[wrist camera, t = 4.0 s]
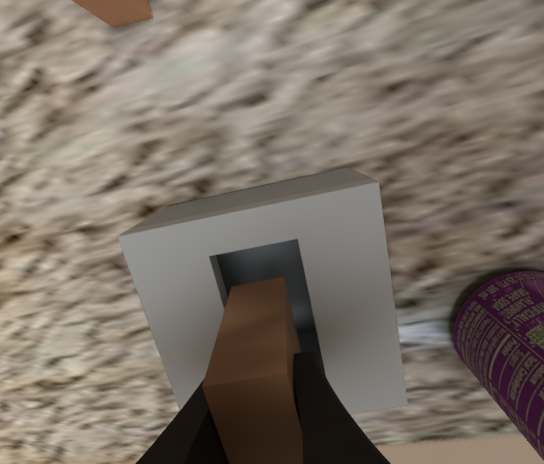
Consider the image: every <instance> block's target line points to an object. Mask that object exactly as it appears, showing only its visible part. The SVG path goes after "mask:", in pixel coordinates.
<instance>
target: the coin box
mask: <svg viewBox="0 0 544 464" xmlns="http://www.w3.org/2000/svg"><path fill="white" fill-rule="evenodd" d="M118 239H119V242H120V245H121V248H122V250H123V253H124V256H125V259H126V262H127V264H128V267H129V270H130V273H131V276H132V278H133V281H134V284H135V287H136V290H137V292H138V295H139V298H140V301H141V303H142V306H143V309H144V312H145V315H146V317H147V320H148V323H149V326H150V329H151V331H152V334H153V337H154V340H155V343H156V345H157V348H158V351H159V354H160V357H161V359H162V362H163V365H164V368H165V370H166V373H167V376H168V379H169V382H170V384H171V387H172V390H173V393H174V396H175V398H176V401H177V404H178V407H179V410H181V409H182V408H183V406H184V405H185V404H186V402H187V401H188V400H189V398H190V397H191V396H192V394H193V393H194V392H195V390H196V389H197V388H198V386H199V385H200V383H201V382H202V381H203V379H204V378H205V375H206V372H207V368H208V365H209V362H210V358H211V355H212V351H213V348H214V345H215V341H216V338H217V334H218V331H219V328H220V324H221V321H222V317H223V314H224V311H225V307H226V304H227V300H228V297H229V293H230V290H231V287H233V286H238V285H244V284H249V283H254V282H259V281H264V280H269V279H274V278H280V277H284V280H285V284H286V288H287V293H288V297H289V301H290V306H291V310H292V314H293V318H294V323H295V327H296V331H297V336H298V340H299V344H300V349H301V352H307V351H314V352H315V353H317V358H318V361H319V363H320V366H321V368H322V370H323V372H324V374H325V376H326V378H327V380H328V382H329V383H330V385H331V387H332V388H333V390H334V392H335V393H336V395H337V396H338V398H339V400H340V401H341V403H342V404H343V405H344V407H345V408H346V410H347V411H348V413H349V414H355V413H362V412H368V411H375V410H381V409H388V408H395V407H401V406H408V403H407V396H406V388H405V380H404V373H403V365H402V357H401V350H400V342H399V334H398V327H397V319H396V311H395V304H394V296H393V288H392V281H391V273H390V265H389V258H388V250H387V242H386V235H385V227H384V219H383V212H382V204H381V196H380V189H379V182H378V181H376V180H373V179H371V178H369V177H367V176H365V175H363V174H360V173H358V172H356V171H354V170H352V169H350V168H348V167H345V168H341V169H336V170H332V171H327V172H322V173H318V174H313V175H308V176H304V177H299V178H294V179H290V180H285V181H280V182H276V183H271V184H266V185H262V186H257V187H252V188H248V189H243V190H238V191H234V192H229V193H224V194H220V195H215V196H210V197H206V198H201V199H196V200H192V201H187V202H182V203H178V204H173V205H169V206H167V207H165V208H164V209H162V210H160V211H159V212H157V213H155V214H154V215H152V216H150V217H149V218H147V219H146V220H144V221H142V222H141V223H139V224H137V225H136V226H134V227H132V228H131V229H129V230H127V231H126V232H124V233H123V234H121V235H119V236H118Z"/></svg>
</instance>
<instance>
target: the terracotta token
mask: <svg viewBox="0 0 544 464" xmlns="http://www.w3.org/2000/svg"><path fill="white" fill-rule="evenodd" d="M72 1H74V2H75V3H77V4H78V5H80V6H81V7H83V8H85V9H86V10H88V11H89V12H91V13H92V14H94V15H95V16H97V17H98V18H100V19H101V20H103V21H105V22H106V23H108V24H109V25H111V26H112V27H114V28H116V27H120V26H124V25H127V24H131V23H135V22H139V21H142V20H146V19H150V18H153V15H152V11H151V8H150V4H149V0H72Z"/></svg>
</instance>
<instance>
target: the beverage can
mask: <svg viewBox="0 0 544 464" xmlns="http://www.w3.org/2000/svg"><path fill="white" fill-rule="evenodd" d="M454 343H455V347H456V350H457V352H458V354H459V356H460V358H461V359H462V360H463V362H464V363H465V364H466V365H467V367H468V368H469V369H470V370H471V372H472V373H473V374H474V375H475V377H476V378H477V379H478V380H479V381H480V383H481V384H482V385H483V386H484V388H485V389H486V390H487V391H488V393H489V394H490V395H491V396H492V397H493V399H494V400H495V401H496V402H497V404H498V405H499V406H500V407H501V409H502V410H503V411H504V412H505V413H506V415H507V416H508V417H509V418H510V420H511V421H512V422H513V423H514V425H515V426H516V427H517V428H518V430H519V431H520V432H521V433H522V434H523V436H524V437H525V438H526V439H527V441H528V442H529V443H530V444H531V445H532V447H533V448H534V449H535V450H536V452H537V453H538V454H539V455H540V457H541V458H542V459H543V460H544V272H539V271H518V272H513V273H508V274H505V275H502V276H499V277H497V278H495V279H493V280H491V281H489V282H487V283H486V284H484V285H483V286H481V287H480V288H479V289H477V290H476V291H475V292H474V293H473V294H472V295H471V296H470V297H469V298H468V299H467V301H466V302H465V303H464V305H463V306H462V308H461V309H460V311H459V313H458V316H457V318H456V322H455V326H454Z"/></svg>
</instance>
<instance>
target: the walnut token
mask: <svg viewBox="0 0 544 464" xmlns="http://www.w3.org/2000/svg"><path fill="white" fill-rule="evenodd" d="M295 353H301V349H300V344H299V340H298V336H297V331H296V327H295V323H294V318H293V314H292V310H291V306H290V301H289V297H288V293H287V288H286V284H285V280H284V277H280V278H274V279H269V280H264V281H259V282H254V283H249V284H244V285H238V286H233V287H231V290H230V293H229V297H228V300H227V304H226V307H225V311H224V314H223V317H222V321H221V324H220V328H219V331H218V334H217V338H216V341H215V345H214V348H213V351H212V355H211V358H210V362H209V365H208V368H207V372H206V375H205V379H204V382H203V385H202V389H203V391H204V394H205V397H206V400H207V403H208V406H209V408H210V411H211V414H212V417H213V420H214V423H215V425H216V428H217V431H218V434H219V437H220V440H221V442H222V445H223V448H224V451H225V454H226V457H227V459H228V462H229V464H303V439H302V426H301V418H300V412H299V406H298V400H297V395H296V389H295V383H294V377H293V358H294V354H295Z"/></svg>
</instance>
